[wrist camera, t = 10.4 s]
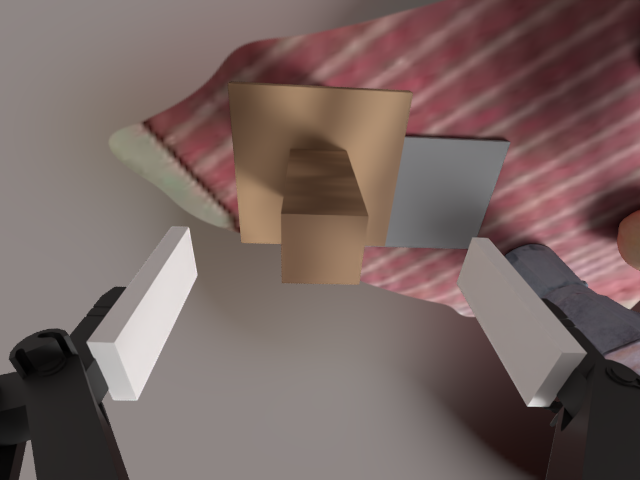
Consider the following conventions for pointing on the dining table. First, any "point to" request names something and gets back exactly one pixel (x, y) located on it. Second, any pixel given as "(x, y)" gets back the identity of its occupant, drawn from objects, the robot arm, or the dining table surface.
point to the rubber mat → (443, 191)
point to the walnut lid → (317, 172)
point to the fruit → (630, 239)
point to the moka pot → (580, 306)
